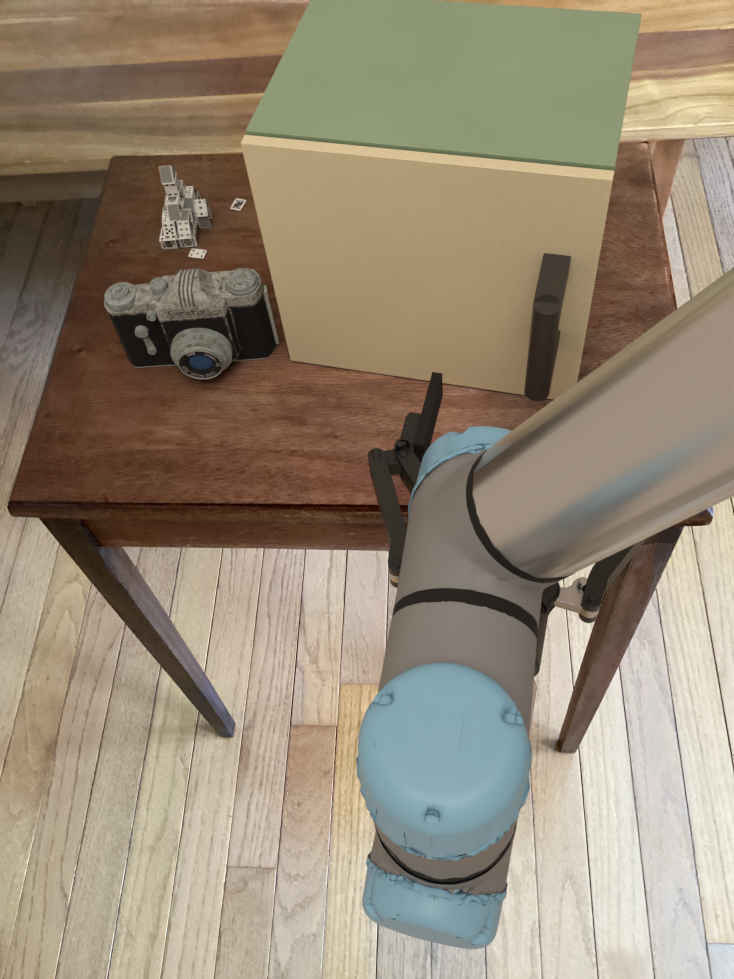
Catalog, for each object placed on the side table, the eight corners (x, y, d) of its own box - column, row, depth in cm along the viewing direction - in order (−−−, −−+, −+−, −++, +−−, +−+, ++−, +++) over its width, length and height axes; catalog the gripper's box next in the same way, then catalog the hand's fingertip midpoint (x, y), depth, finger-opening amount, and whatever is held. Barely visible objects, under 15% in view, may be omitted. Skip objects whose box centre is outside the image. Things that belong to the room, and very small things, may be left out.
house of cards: (242, 256, 95) (226, 196, 89) (159, 262, 96) (137, 203, 89) (247, 197, 100) (232, 136, 94) (168, 203, 101) (148, 143, 94)
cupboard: (575, 392, 82) (615, 165, 62) (294, 351, 88) (245, 130, 67) (600, 251, 91) (641, 13, 71) (343, 222, 97) (313, -8, 76)
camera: (121, 394, 86) (85, 321, 78) (130, 340, 90) (96, 264, 82) (278, 383, 86) (258, 308, 77) (280, 329, 89) (262, 251, 81)
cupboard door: (564, 457, 79) (601, 242, 58) (271, 410, 84) (212, 198, 64) (575, 394, 82) (614, 170, 62) (293, 352, 87) (244, 134, 67)
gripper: (292, 650, 62) (367, 404, 73) (674, 729, 57) (695, 452, 68) (274, 602, 56) (359, 340, 67) (701, 686, 51) (719, 388, 62)
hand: (529, 396), depth 67 cm, fingers open, 13 cm apart
